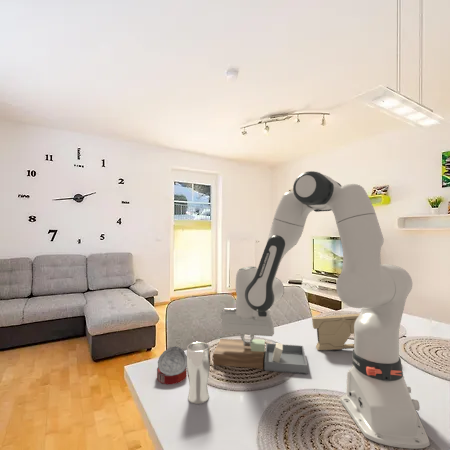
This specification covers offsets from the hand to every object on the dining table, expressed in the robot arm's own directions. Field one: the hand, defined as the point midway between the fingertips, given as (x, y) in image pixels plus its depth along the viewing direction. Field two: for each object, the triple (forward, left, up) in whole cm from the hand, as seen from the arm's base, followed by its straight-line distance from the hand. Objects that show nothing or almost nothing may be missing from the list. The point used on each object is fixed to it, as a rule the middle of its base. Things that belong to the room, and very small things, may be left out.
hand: (247, 345), depth 106 cm
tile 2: (0, -10, -1) cm, 10 cm away
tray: (0, -14, -5) cm, 15 cm away
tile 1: (0, -4, -1) cm, 4 cm away
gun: (+14, -38, -5) cm, 41 cm away
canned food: (-17, +24, -5) cm, 30 cm away
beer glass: (-27, +12, -5) cm, 30 cm away
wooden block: (0, +3, -5) cm, 6 cm away
